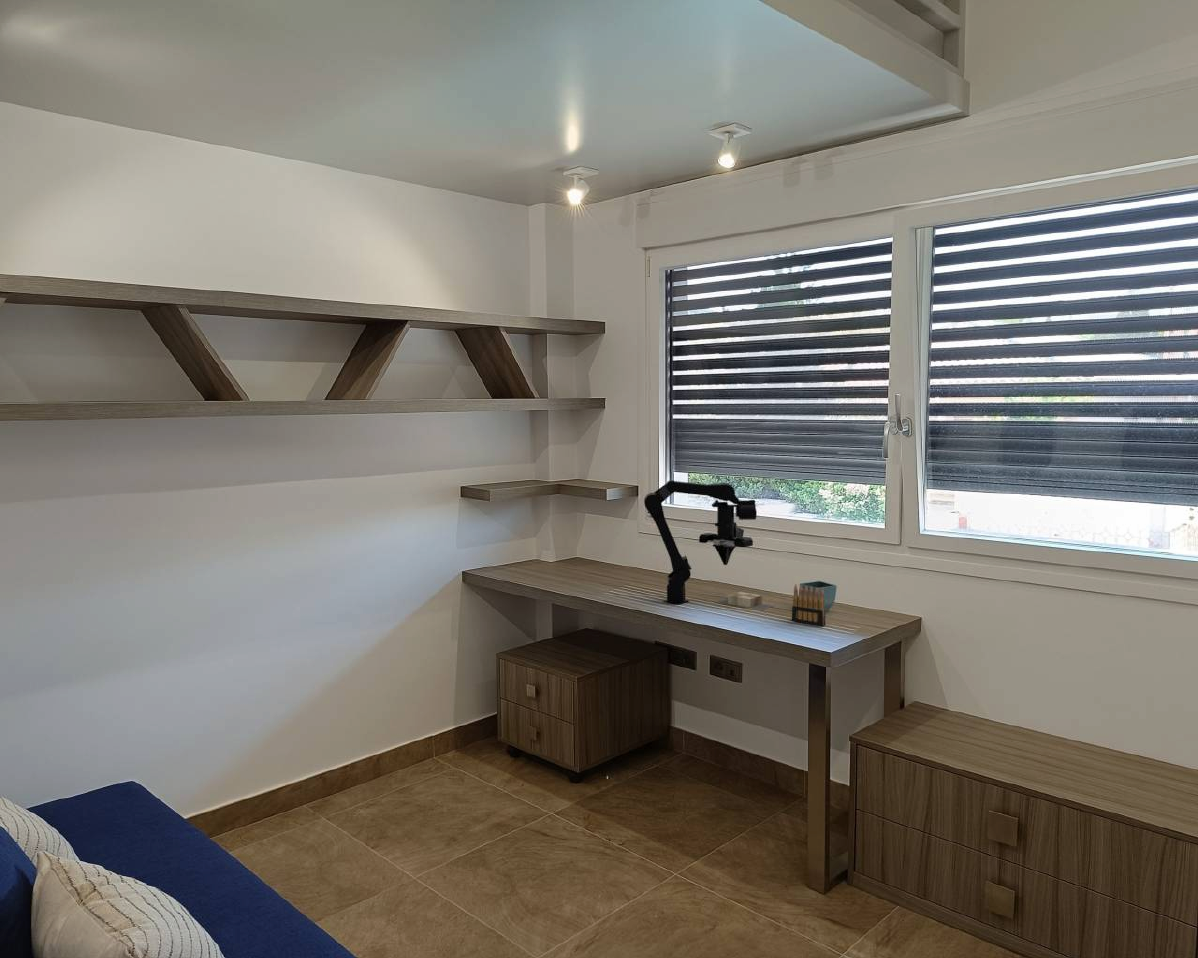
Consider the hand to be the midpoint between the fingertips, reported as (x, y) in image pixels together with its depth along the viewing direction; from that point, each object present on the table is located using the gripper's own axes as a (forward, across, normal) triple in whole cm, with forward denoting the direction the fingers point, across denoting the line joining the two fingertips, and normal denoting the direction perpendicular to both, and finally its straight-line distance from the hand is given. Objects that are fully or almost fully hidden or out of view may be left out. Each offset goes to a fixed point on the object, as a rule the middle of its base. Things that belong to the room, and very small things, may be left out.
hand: (725, 564), depth 316 cm
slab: (+11, -4, 0) cm, 12 cm away
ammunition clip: (+13, -37, +9) cm, 40 cm away
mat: (+13, -8, 0) cm, 15 cm away
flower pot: (+13, -31, -8) cm, 35 cm away
